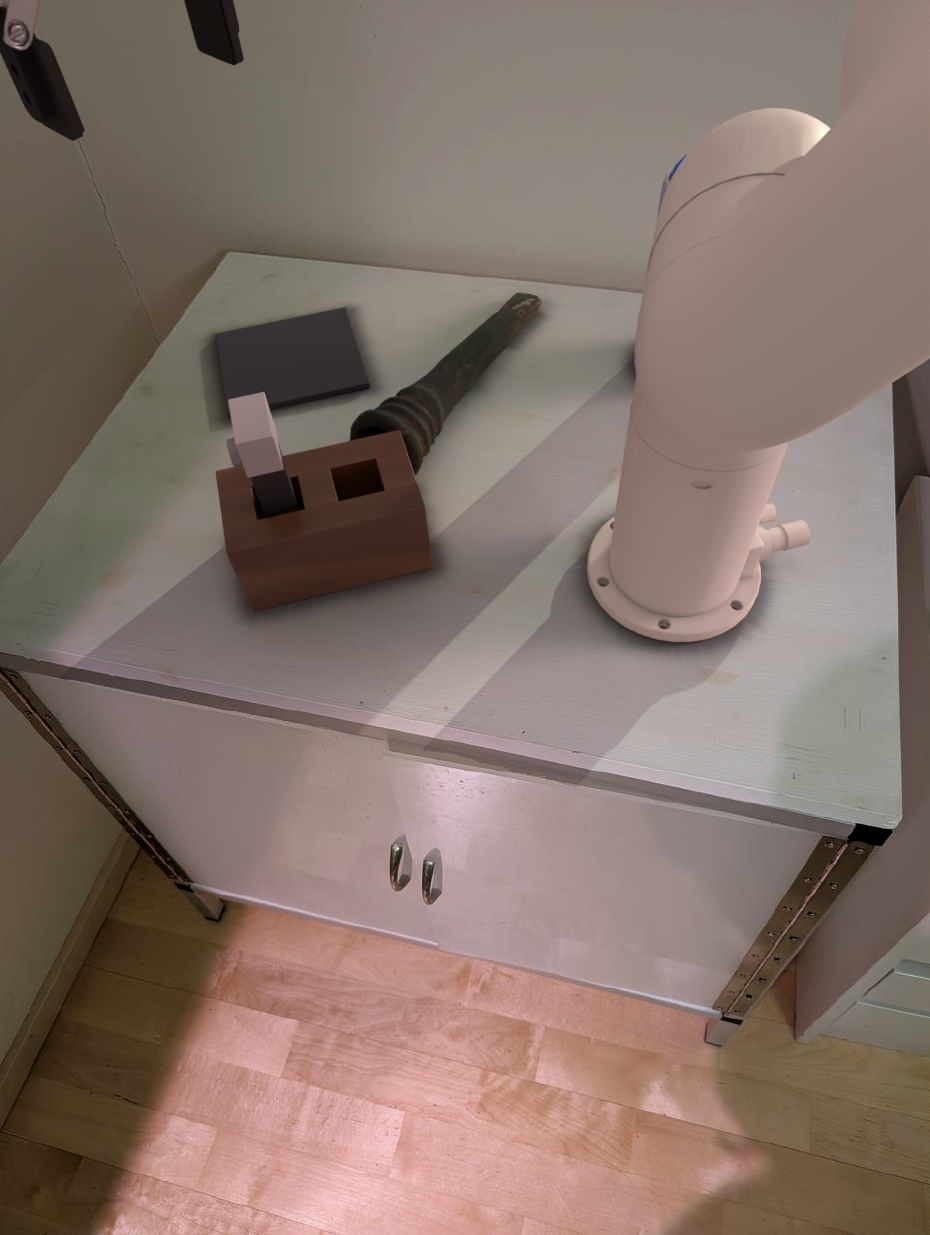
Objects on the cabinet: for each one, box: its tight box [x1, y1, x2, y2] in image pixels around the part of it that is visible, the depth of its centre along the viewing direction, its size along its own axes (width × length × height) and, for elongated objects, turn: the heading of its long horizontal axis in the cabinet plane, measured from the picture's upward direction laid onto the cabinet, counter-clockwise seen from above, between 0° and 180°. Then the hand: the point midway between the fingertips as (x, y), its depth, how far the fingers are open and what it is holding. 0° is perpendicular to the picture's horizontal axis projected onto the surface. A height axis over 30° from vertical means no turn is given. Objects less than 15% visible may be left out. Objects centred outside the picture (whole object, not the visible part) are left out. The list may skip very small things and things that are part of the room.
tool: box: [349, 292, 542, 476], centre depth 73 cm, size 28×6×7 cm, turn 147°
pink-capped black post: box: [226, 392, 300, 518], centre depth 59 cm, size 3×4×14 cm
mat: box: [214, 306, 371, 419], centre depth 79 cm, size 13×12×1 cm
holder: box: [215, 430, 434, 613], centre depth 63 cm, size 8×14×7 cm, turn 105°
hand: (146, 92), depth 42 cm, fingers open, 9 cm apart
